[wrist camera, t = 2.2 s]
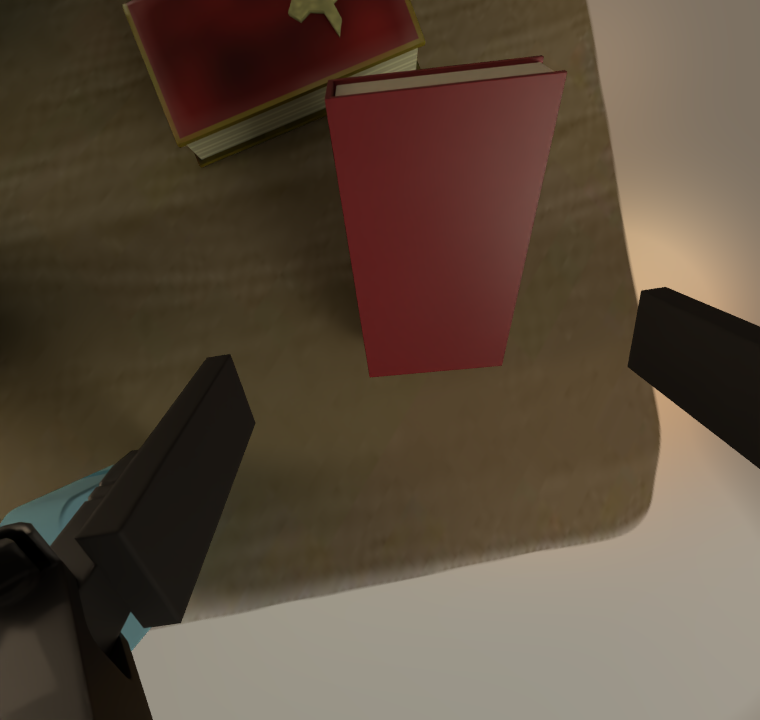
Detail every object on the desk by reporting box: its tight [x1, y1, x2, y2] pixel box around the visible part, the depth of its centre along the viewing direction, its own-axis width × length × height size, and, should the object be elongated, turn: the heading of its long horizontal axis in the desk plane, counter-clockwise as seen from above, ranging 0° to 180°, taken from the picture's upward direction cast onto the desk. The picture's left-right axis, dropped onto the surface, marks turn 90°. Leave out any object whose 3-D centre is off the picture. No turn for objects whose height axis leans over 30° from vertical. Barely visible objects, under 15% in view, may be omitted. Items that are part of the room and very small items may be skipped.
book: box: [325, 55, 567, 377], centre depth 26 cm, size 20×11×4 cm
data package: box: [0, 465, 151, 651], centre depth 30 cm, size 12×4×12 cm, turn 13°
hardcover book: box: [122, 0, 425, 167], centre depth 32 cm, size 12×21×4 cm, turn 111°
